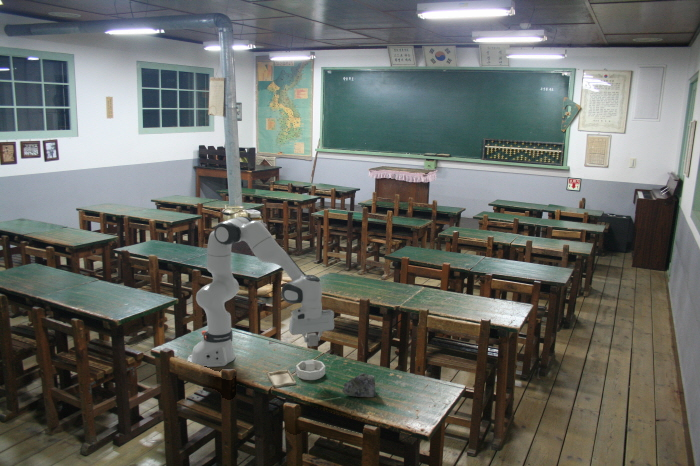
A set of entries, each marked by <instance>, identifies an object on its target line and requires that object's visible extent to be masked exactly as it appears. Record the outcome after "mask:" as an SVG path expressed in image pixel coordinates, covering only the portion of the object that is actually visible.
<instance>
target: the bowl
mask: <svg viewBox="0 0 700 466" xmlns="http://www.w3.org/2000/svg"><path fill="white" fill-rule="evenodd" d="M311 360H312V361H313V362H314V363H315V371H311V372H308V371H304V361H307V360H301V361H300V362H299V363H297V364H296V365H295V373H296V376H297V378H299V379H302V380H304V381H305V380H306V381H315V380H319V379H321V378H323V377H324V376H325V374H326V365H325V364H324V362H323V361H320V360H315V359H311Z"/></svg>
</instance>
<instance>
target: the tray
mask: <svg viewBox="0 0 700 466" xmlns="http://www.w3.org/2000/svg"><path fill="white" fill-rule="evenodd" d="M266 375H267V378H268V380H269V381H270V383H271V385H272V388H282V387H287V386H293V385H297V381H296V379H295V378H294V376H293V375H292V372H291V371H290V370H289V369H283V370H277V371H276V370H275V371H270V372H266Z"/></svg>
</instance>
